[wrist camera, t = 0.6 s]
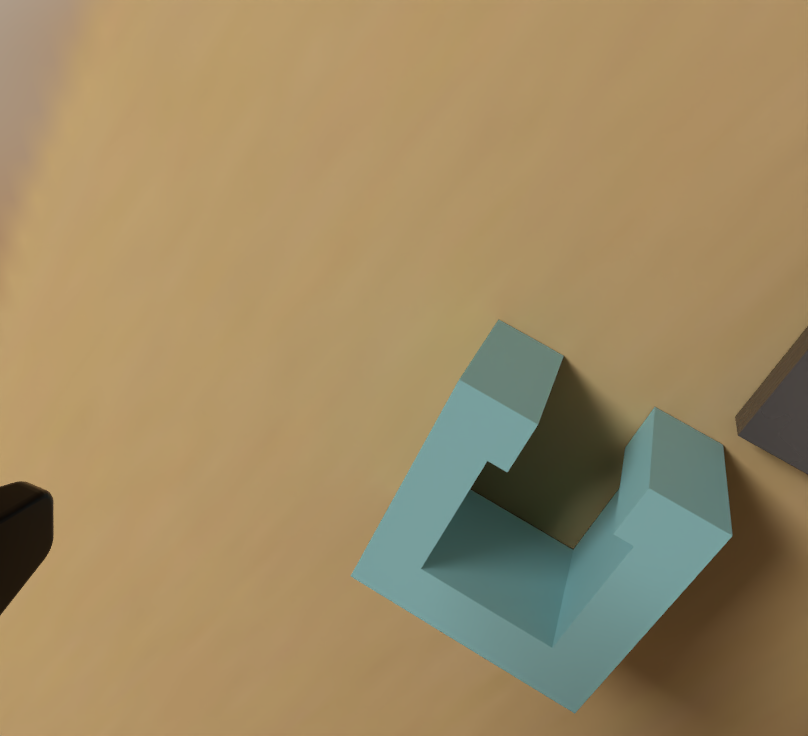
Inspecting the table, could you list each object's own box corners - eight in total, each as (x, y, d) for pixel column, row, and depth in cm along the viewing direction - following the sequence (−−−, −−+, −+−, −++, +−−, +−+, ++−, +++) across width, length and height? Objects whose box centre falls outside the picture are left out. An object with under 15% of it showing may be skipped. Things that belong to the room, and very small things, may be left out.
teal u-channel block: (591, 607, 22) (574, 713, 19) (401, 493, 23) (350, 576, 19) (723, 444, 19) (732, 535, 15) (498, 319, 20) (459, 379, 16)
